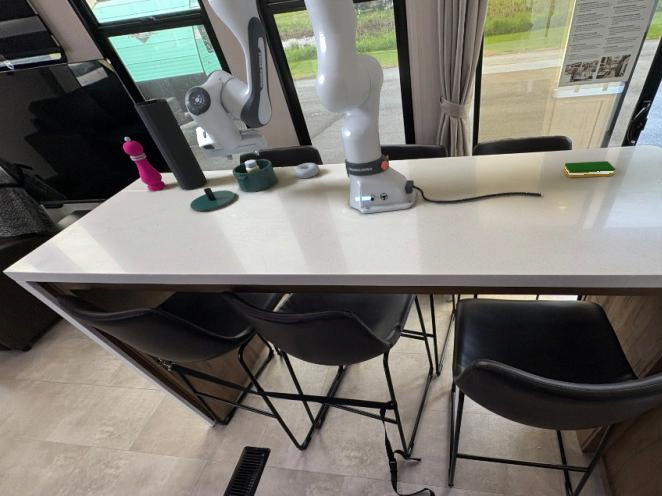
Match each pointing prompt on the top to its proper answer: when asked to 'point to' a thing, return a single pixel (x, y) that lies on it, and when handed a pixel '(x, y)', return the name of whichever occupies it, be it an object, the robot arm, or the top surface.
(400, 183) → the robot arm
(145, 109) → the vase
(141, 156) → the pepper mill
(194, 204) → the lid
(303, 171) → the donut
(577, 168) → the dish sponge
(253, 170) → the supplement bottle
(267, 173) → the pot
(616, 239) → the top surface
